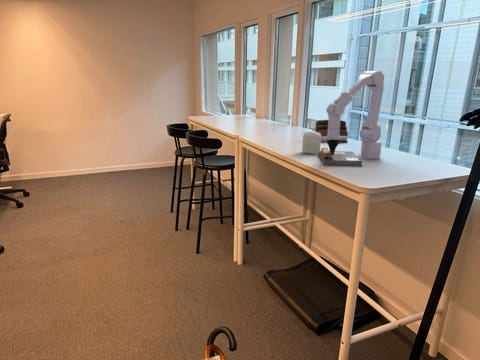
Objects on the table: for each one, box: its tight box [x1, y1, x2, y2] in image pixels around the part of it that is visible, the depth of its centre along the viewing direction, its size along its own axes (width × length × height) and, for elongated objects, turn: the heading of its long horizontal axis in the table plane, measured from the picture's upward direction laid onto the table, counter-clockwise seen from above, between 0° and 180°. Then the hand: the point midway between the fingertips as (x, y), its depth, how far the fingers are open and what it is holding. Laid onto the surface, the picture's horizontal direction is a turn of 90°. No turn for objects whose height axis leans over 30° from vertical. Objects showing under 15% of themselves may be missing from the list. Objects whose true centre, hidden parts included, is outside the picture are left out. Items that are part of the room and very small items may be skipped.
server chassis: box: [317, 150, 363, 167], centre depth 173 cm, size 18×22×3 cm
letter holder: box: [314, 119, 349, 144], centre depth 224 cm, size 10×20×14 cm, turn 84°
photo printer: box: [301, 130, 322, 155], centre depth 188 cm, size 10×4×12 cm, turn 56°
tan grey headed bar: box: [320, 147, 332, 158], centre depth 174 cm, size 15×4×2 cm, turn 174°
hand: (331, 154), depth 171 cm, fingers closed
